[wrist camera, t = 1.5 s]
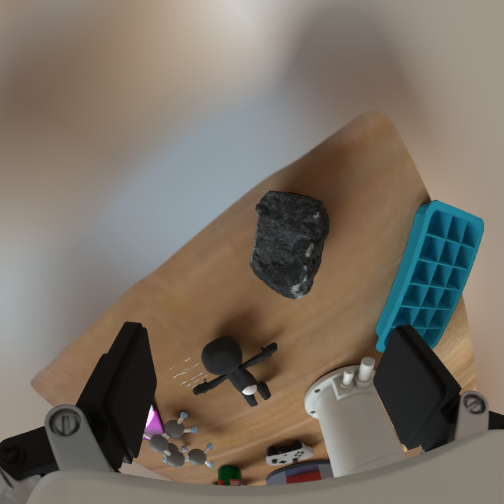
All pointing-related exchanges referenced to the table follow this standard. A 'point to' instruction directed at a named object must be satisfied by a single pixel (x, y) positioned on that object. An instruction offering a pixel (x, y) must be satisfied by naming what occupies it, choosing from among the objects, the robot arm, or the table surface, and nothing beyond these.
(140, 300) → the table surface
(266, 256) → the rock
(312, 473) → the block
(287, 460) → the game controller
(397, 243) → the table surface
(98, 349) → the table surface
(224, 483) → the soda can
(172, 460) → the molecule model
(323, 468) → the plate
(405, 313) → the ice cube tray
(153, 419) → the smartphone
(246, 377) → the figurine
